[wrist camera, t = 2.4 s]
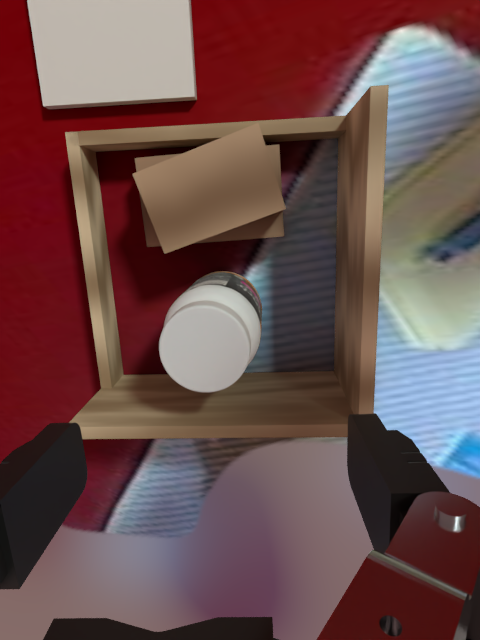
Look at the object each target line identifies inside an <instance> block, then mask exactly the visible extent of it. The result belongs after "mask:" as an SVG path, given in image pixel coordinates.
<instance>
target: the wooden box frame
mask: <svg viewBox="0 0 480 640" xmlns="http://www.w3.org/2000/svg"><path fill="white" fill-rule="evenodd" d="M388 86H389V85H383V86H371V87H370V88H369V89H368V90H367V91H366V93H365V94H364V95H363V96H362V97H361V99H360V100H359V101H358V102H357V103H356V105H355V106H354V107H353V108H352V109H351V111H350V112H349V113H348V114H347V115H346V116H333V117H316V118H299V119H283V120H266V121H249V122H232V123H215V124H198V125H181V126H164V127H148V128H131V129H114V130H97V131H80V132H65V136H66V143H67V150H68V157H69V164H70V172H71V179H72V186H73V193H74V200H75V207H76V214H77V221H78V228H79V235H80V242H81V250H82V257H83V264H84V271H85V278H86V285H87V292H88V299H89V306H90V313H91V320H92V327H93V335H94V342H95V349H96V356H97V363H98V370H99V377H100V384H101V389H100V390H99V391H98V392H97V393H96V394H95V395H94V397H93V398H92V399H91V400H90V401H89V402H88V403H87V404H86V405H85V406H84V407H83V408H82V409H81V410H80V411H79V413H78V414H77V415H76V416H75V417H74V418H73V419H72V420H71V421H70V422H69V423H77V424H78V425H79V426H80V429H81V434H82V439H156V438H279V437H348V417H349V415H350V414H373V410H374V389H375V367H376V346H377V324H378V302H379V281H380V259H381V238H382V216H383V194H384V173H385V151H386V130H387V108H388ZM256 123H259V126H260V129H261V132H262V135H263V139H264V142H282V141H300V140H318V139H336V138H338V176H337V231H336V286H335V340H334V371H310V372H257V373H243V374H242V376H241V377H240V378H239V379H238V380H237V381H236V382H235V383H233V384H232V385H231V386H229V387H227V388H225V389H223V390H220V391H216V392H196V391H192V390H189V389H187V388H185V387H183V386H181V385H180V384H178V383H177V382H176V381H174V380H173V379H172V378H171V377H170V376H169V374H150V375H123V367H122V359H121V351H120V343H119V335H118V327H117V319H116V311H115V303H114V295H113V287H112V279H111V271H110V263H109V255H108V247H107V239H106V231H105V223H104V215H103V207H102V199H101V191H100V183H99V175H98V167H97V159H96V152H102V151H120V150H138V149H156V148H174V147H192V146H202V145H205V144H207V143H210V142H212V141H214V140H217V139H219V138H222V137H224V136H227V135H229V134H232V133H234V132H237V131H239V130H242V129H244V128H246V127H249V126H251V125H254V124H256Z"/></svg>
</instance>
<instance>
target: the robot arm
mask: <svg viewBox="0 0 480 640" xmlns="http://www.w3.org/2000/svg"><path fill="white" fill-rule="evenodd" d="M347 450H348V451H347V454H348V455H347V466H348V475H349V481H350V485H351V488H352V490H353V493H354V496H355V499H356V502H357V504H358V507H359V510H360V512H361V515H362V518H363V521H364V523H365V526H366V529H367V531H368V534H369V537H370V540H371V542H372V545H373V548H374V550H372V551H371V552H370V553H369V554H368V556H367V557H366V559H365V561H364V562H363V564H362V566H361V567H360V569H359V571H358V572H357V574H356V576H355V577H354V579H353V580H352V582H351V584H350V585H349V587H348V589H347V590H346V592H345V594H344V595H343V597H342V599H341V600H340V602H339V604H338V605H337V607H336V608H335V610H334V612H333V613H332V615H331V617H330V619H329V620H328V622H327V623H326V625H325V627H324V628H323V630H322V632H321V633H320V635H319V637H318V638H317V640H480V507H479V506H477V505H476V504H474V503H473V502H471V501H470V500H468V499H465V498H463V497H461V496H458V495H455V494H452V493H450V492H449V490H448V489H447V488H446V486H445V485H444V484H443V482H442V481H441V480H440V478H439V477H438V475H437V474H436V473H435V471H434V470H433V468H432V467H431V466H430V464H429V463H427V460H426V459H425V458H424V456H423V455H422V453H420V451H419V449H418V448H417V447H416V445H415V444H414V442H413V441H412V440H411V439H410V438H408V437H407V436H405V435H403V434H402V433H400V432H399V431H397V430H388V431H387V430H386V428H385V427H384V425H383V424H382V422H381V420H380V419H379V417H378V416H377V414H350V415H349V417H348V448H347ZM86 481H87V465H86V459H85V453H84V447H83V440H82V434H81V429H80V426H79V425H78V424H77V423H51V424H49V425H47V426H46V427H45V428H44V429H43V430H42V431H41V432H40V433H39V434H38V435H37V436H36V437H35V438H34V439H33V440H32V441H29V442H27V443H26V444H24V445H22V446H20V447H19V448H17V449H15V450H14V451H12V452H11V453H10V454H9V455H8V456H7V457H6V458H5V459H4V460H3V461H2V463H1V464H0V589H20V587H21V586H22V584H23V583H24V581H25V580H26V578H27V577H28V575H29V573H30V572H31V570H32V569H33V567H34V566H35V564H36V563H37V561H38V560H39V558H40V557H41V555H42V554H43V552H44V550H45V549H46V547H47V546H48V544H49V543H50V541H51V539H52V538H53V537H54V535H55V534H56V532H57V531H58V529H59V527H60V526H61V524H62V523H63V521H64V520H65V518H66V517H67V515H68V514H69V512H70V511H71V509H72V508H73V506H74V504H75V503H76V501H77V500H78V498H79V497H80V495H81V494H82V492H83V490H84V488H85V485H86ZM43 640H279V639H275V638H273V624H272V617H221V618H219V617H218V618H214V619H210V620H206V621H202V622H198V623H195V624H190V625H187V626H183V627H179V628H175V629H172V630H167V631H163V632H153V631H149V630H146V629H142V628H139V627H135V626H132V625H128V624H125V623H121V622H118V621H114V620H111V619H107V618H76V619H54V620H53V621H52V623H51V625H50V627H49V629H48V631H47V634H46V635H45V637H44V639H43Z"/></svg>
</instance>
